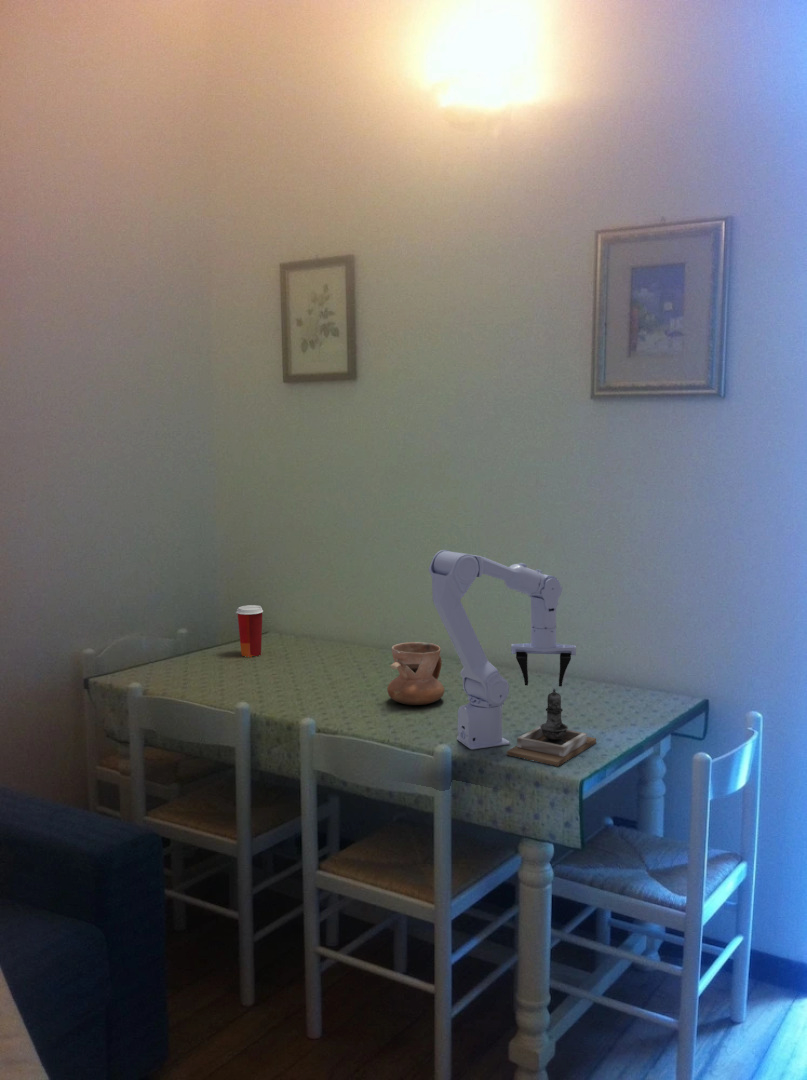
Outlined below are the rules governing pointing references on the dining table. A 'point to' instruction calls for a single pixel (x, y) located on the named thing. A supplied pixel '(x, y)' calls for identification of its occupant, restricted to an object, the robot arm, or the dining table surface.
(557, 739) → the salt shaker
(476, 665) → the robot arm
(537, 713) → the dining table surface
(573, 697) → the dining table surface
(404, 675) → the ceramic jug
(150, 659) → the dining table surface
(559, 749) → the board
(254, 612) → the coffee cup
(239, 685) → the dining table surface
